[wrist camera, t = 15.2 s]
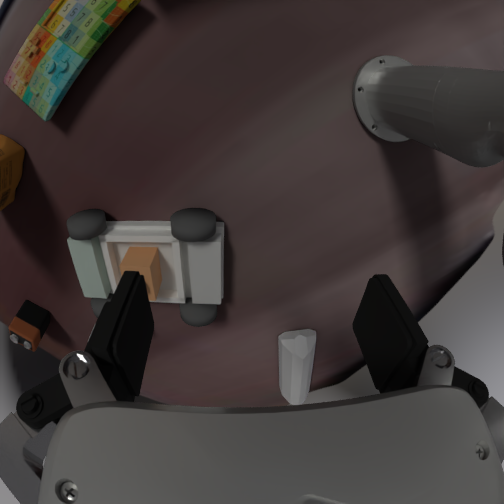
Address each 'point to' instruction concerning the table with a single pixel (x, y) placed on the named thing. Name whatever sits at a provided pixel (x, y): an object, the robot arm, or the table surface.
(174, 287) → the chassis
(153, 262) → the box with black knob
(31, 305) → the battery
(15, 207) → the table surface
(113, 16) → the puzzle game
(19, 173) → the coffee package
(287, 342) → the crystal
